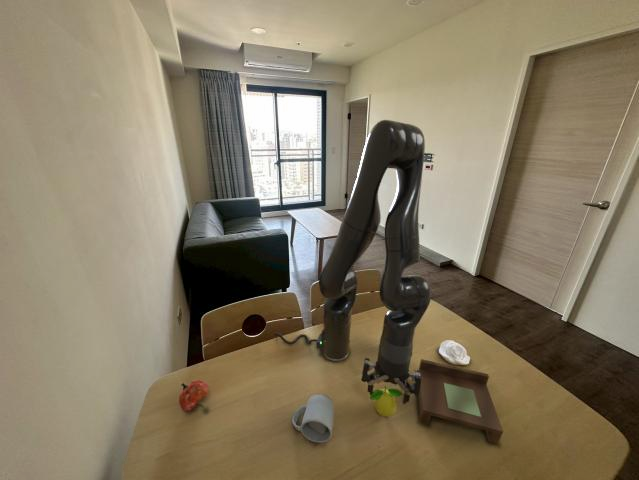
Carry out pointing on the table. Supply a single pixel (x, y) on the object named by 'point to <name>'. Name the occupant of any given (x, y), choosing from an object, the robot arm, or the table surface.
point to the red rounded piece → (192, 395)
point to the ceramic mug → (316, 418)
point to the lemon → (385, 400)
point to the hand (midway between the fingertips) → (387, 396)
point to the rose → (454, 353)
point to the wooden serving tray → (457, 398)
